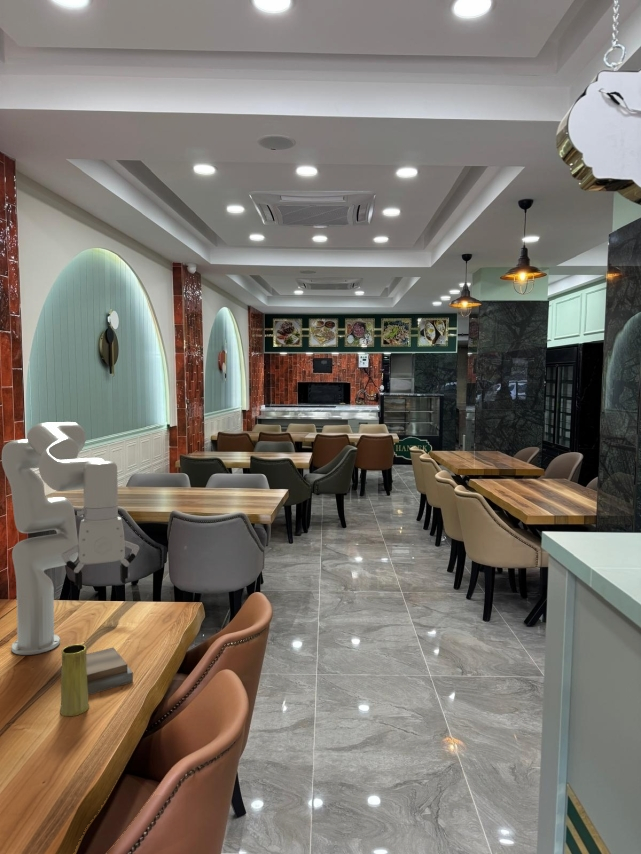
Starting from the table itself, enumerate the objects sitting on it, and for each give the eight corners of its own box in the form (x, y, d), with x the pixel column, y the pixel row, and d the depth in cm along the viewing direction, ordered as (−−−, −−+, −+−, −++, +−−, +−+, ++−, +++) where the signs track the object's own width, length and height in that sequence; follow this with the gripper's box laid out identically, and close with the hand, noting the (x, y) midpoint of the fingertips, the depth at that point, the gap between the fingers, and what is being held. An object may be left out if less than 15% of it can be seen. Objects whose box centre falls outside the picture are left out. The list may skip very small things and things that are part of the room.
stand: (61, 675, 146) (60, 658, 146) (116, 661, 155) (116, 645, 154) (74, 698, 135) (73, 680, 135) (132, 682, 143) (132, 664, 143)
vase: (70, 719, 126) (70, 657, 126) (54, 711, 129) (53, 650, 129) (94, 707, 131) (93, 647, 131) (78, 699, 135) (77, 641, 134)
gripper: (61, 519, 126) (63, 595, 127) (141, 512, 135) (142, 584, 135) (59, 513, 133) (60, 585, 134) (135, 507, 141) (136, 575, 142)
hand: (101, 584), depth 134 cm, fingers open, 9 cm apart
